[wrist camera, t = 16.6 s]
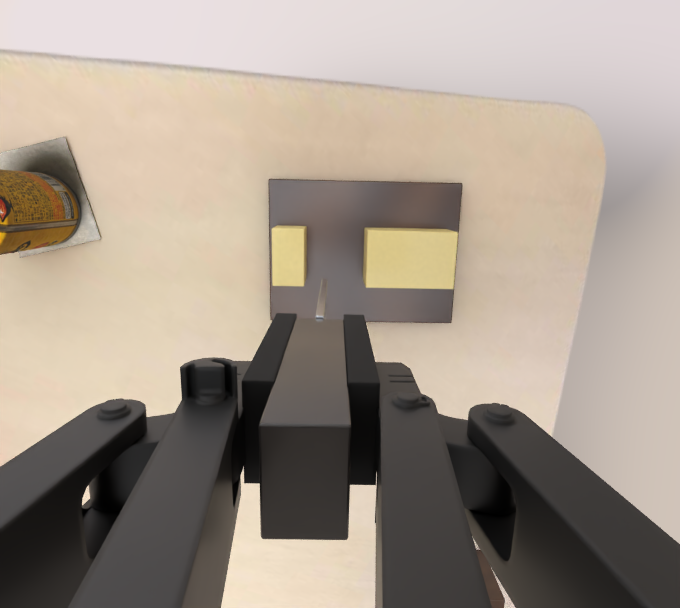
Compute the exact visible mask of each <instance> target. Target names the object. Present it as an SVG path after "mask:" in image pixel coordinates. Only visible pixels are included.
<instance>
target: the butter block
mask: <svg viewBox="0 0 680 608" xmlns="http://www.w3.org/2000/svg"><path fill="white" fill-rule="evenodd" d="M457 241H458V232H456V231H452V230H448V229H420V228H371V227H365V228H364V259H363V281H364V284H365V286H366V288H410V289H454V279H455V266H456V254H457Z"/></svg>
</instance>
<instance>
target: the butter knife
mask: <svg viewBox="0 0 680 608" xmlns="http://www.w3.org/2000/svg"><path fill="white" fill-rule="evenodd" d="M327 285H328V279H322V282H321V288H320V293H319V299H318V305H317V311H316V316H315V319H295V322H294V325H293V328H292V331H291V334H290V337H289V340H288V343H287V346H286V349H285V352H284V355H283V358H282V361H281V364H280V367H279V370H278V373H277V376H276V379H275V381H274V384H273V385H272V388H271V391H270V394H269V397H268V400H267V403H266V406H265V409H264V412H263V415H262V417H261V420H260V423H259V466H260V516H261V537H262V539H310V540H346V539H347V538H348V525H349V493H350V460H351V413H350V398H349V387H348V374H347V359H346V343H345V328H344V320H343V319H327Z"/></svg>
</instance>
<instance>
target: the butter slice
mask: <svg viewBox="0 0 680 608" xmlns="http://www.w3.org/2000/svg"><path fill="white" fill-rule="evenodd" d="M306 274H307V226H282V225H277V226H275V227H273V228H272V286H304V285H305V281H306Z"/></svg>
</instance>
